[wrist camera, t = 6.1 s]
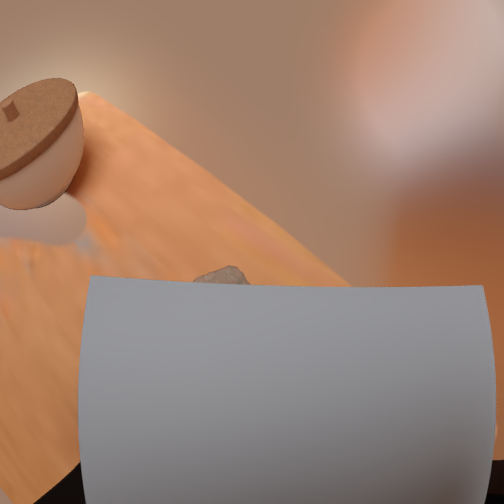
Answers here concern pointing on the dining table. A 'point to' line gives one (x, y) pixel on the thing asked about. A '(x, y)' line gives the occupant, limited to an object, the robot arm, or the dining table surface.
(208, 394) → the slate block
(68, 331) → the dining table surface
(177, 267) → the dining table surface
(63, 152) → the lidded bowl
